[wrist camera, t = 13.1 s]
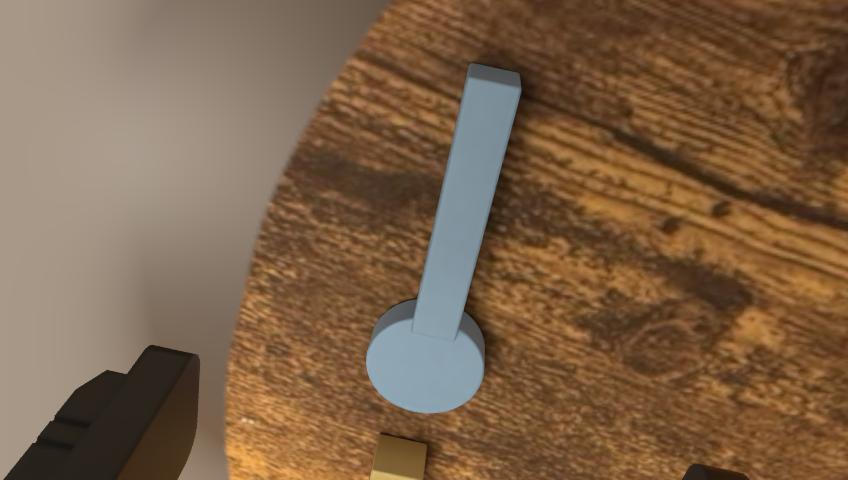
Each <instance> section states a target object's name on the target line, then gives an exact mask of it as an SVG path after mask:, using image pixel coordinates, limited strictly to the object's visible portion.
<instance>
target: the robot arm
mask: <svg viewBox="0 0 848 480" xmlns="http://www.w3.org/2000/svg"><path fill="white" fill-rule="evenodd" d="M199 373H200V359H199V357H198V355H196V354H192V353H187V352H183V351H178V350H173V349H169V348H164V347H159V346H155V345H150V346H148V347H147V348H146V349H145V350H144V351H143V353H142V354H141V355H140V357H139V358H138V360H137V361H136V362H135V364H134V365H133V366H132V368H131V369H130V371H129V372H128V374H123V373H118V372H114V371H109V370H106V371H105V372H103V373H101V374H100V375H98V376H97V377H95V378H93V379H92V380H90V381H89V382H87V383H85V384H84V385H82V386H81V387H79V388H77V389H76V390H75V391H74V392H73V394H72V395H71V396H70V397H69V399H68V400H67V401H66V402H65V404H64V405H63V406H62V407H61V409H60V410H59V411H58V412H57V414H56V415H55V418H54V420H53V421H50V422H49V424H48V425H47V426H46V427H45V429H44V430H43V431H42V432H41V433H40V435H39V436H38V438H37V441H36V443H32V445H31V446H30V447H29V449H28V450H27V451H26V452H25V454H24V455H23V456H22V457H21V458H20V460H19V461H18V462H17V463H16V465H15V466H14V467H13V468H12V470H11V471H10V472H9V473H8V475H7V476H6V477H5V478H4V480H177V479H178V477H179V476H180V474H181V472H182V470H183V468H184V466H185V464H186V462H187V459H188V457H189V454H190V452H191V448H192V446H193V442H194V438H195V434H196V428H197V414H198V393H199ZM682 480H749V479H748V477H747V476H746V475H744V474H743V473H739V472H734V471H730V470H725V469H720V468H716V467H711V466H706V465H702V464H693V465H692V466H690V467H689V469H688V470H687V472H686V473H685V475H684V477H683V479H682Z"/></svg>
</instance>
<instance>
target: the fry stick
mask: <svg viewBox="0 0 848 480" xmlns="http://www.w3.org/2000/svg"><path fill="white" fill-rule="evenodd" d="M426 452H427V444H425V443H420V442H415V441H411V440H406V439H402V438H397V437H392V436H388V435H383V434H380V435H379V436H378V441H377V445H376V450H375V454H374V459H373V463H372V468H371V472H370V477H369V480H423V476H424V468H425V460H426Z"/></svg>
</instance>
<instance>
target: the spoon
mask: <svg viewBox="0 0 848 480" xmlns="http://www.w3.org/2000/svg"><path fill="white" fill-rule="evenodd" d="M521 91H522V90H521V81H520V74H519V73H517V72H512V71H508V70H503V69H498V68H494V67H489V66H485V65H480V64H475V63H470V65H469V68H468V72H467V77H466V81H465V86H464V90H463V95H462V99H461V104H460V108H459V113H458V117H457V121H456V126H455V130H454V135H453V139H452V144H451V148H450V153H449V157H448V162H447V166H446V171H445V175H444V180H443V184H442V189H441V193H440V198H439V202H438V207H437V211H436V216H435V220H434V225H433V229H432V234H431V238H430V243H429V247H428V252H427V256H426V261H425V265H424V270H423V274H422V279H421V283H420V288H419V292H418V296H417V299H415V300H409V301H406V302H403V303H400V304H398V305H396V306H394V307H393V308H391V309H389V310H388V311H387V312H386V313H384V314H383V315H382V317H381V318H380V319H379V320H378V322H377V323H376V325H375V327H374V330H373V333H372V337H371V340H370V344H369V348H368V351H367V356H366V367H367V372H368V375H369V378H370V380H371V382H372V384H373V386H374V387H375V388H376V390H377V391H378V392H379V393H380V394H381V395H382V396H383V397H384V398H386V399H387V400H388V401H390V402H391V403H393V404H394V405H396V406H398V407H401V408H403V409H406V410H409V411H413V412H419V413H440V412H445V411H449V410H452V409H455V408H457V407H459V406H461V405H463V404H464V403H465V402H467V401H468V400H469V399H470V398H471V397H473V395H474V394H475V393H476V392H477V390H478V389H479V387H480V385H481V383H482V380H483V377H484V367H485V343H484V338H483V335H482V333H481V331H480V329H479V327H478V325H477V324H476V323H475V321H474V320H473V319H472V318H471V317H470V316H469V315H468V314H467V313H466V312H464V307H465V303H466V300H467V296H468V292H469V288H470V284H471V281H472V277H473V273H474V269H475V265H476V262H477V258H478V254H479V250H480V246H481V243H482V239H483V235H484V231H485V228H486V224H487V220H488V216H489V212H490V209H491V205H492V201H493V197H494V193H495V190H496V186H497V182H498V178H499V175H500V171H501V167H502V163H503V159H504V156H505V152H506V148H507V144H508V140H509V137H510V133H511V129H512V125H513V121H514V118H515V114H516V110H517V106H518V103H519V99H520V95H521Z"/></svg>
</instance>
